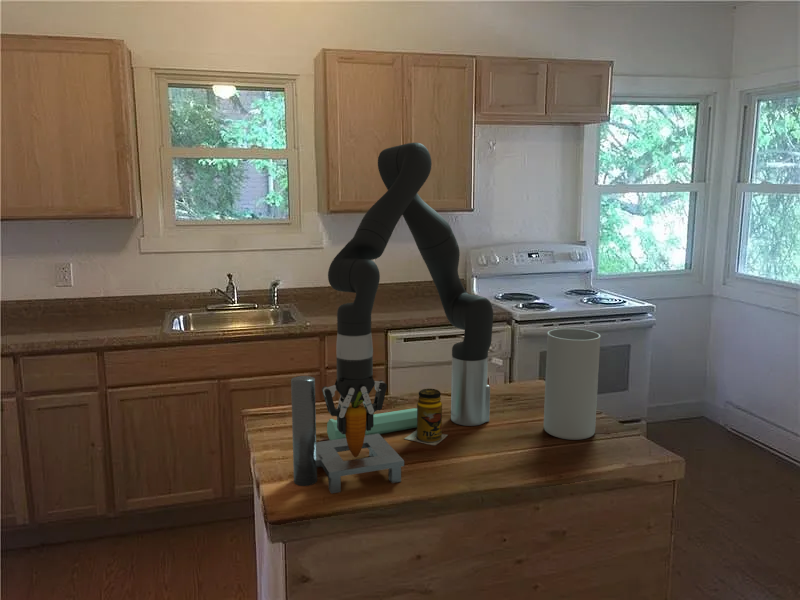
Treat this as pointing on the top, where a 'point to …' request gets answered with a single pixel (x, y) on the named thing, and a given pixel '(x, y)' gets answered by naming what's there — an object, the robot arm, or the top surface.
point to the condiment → (428, 418)
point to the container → (381, 423)
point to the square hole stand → (331, 445)
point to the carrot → (355, 425)
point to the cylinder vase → (571, 383)
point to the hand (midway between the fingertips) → (355, 430)
